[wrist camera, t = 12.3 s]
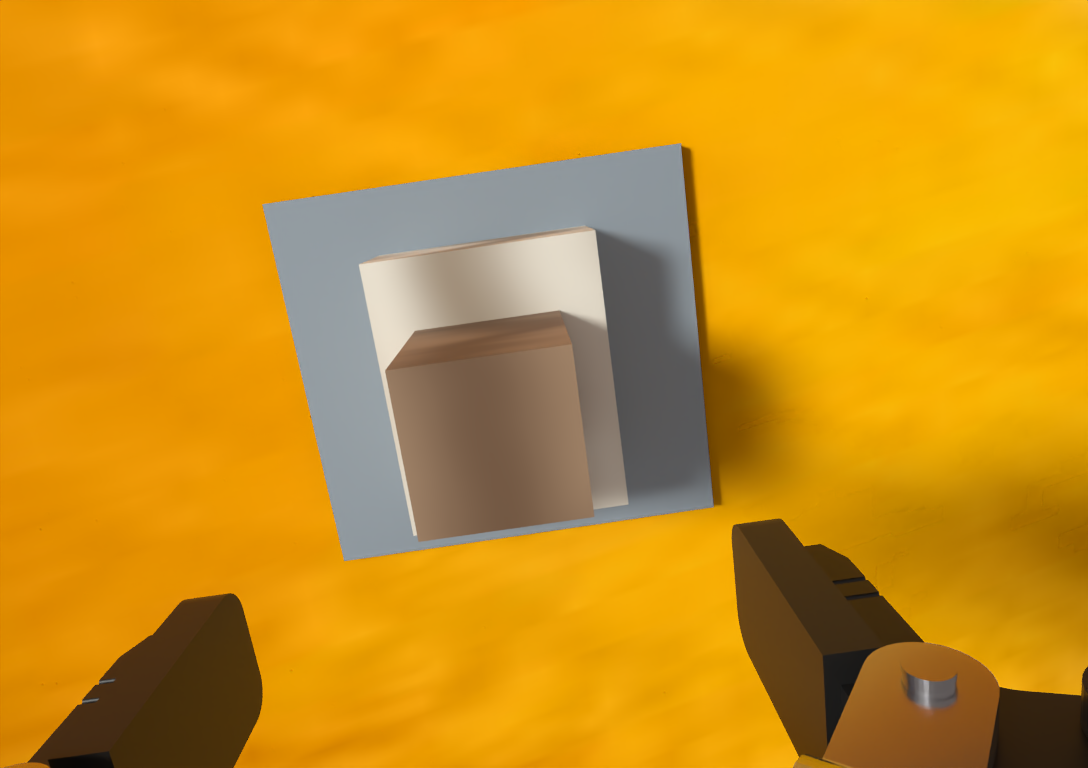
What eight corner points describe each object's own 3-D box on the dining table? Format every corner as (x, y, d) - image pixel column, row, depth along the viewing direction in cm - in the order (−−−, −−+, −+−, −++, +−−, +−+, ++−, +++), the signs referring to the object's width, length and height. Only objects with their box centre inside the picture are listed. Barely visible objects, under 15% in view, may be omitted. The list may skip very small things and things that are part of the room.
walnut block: (559, 310, 25) (571, 343, 20) (577, 447, 27) (594, 517, 21) (414, 330, 25) (385, 370, 20) (439, 466, 27) (418, 541, 21)
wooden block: (584, 225, 29) (595, 229, 25) (614, 466, 31) (628, 504, 27) (380, 255, 29) (358, 264, 25) (426, 493, 31) (413, 535, 27)
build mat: (677, 144, 29) (680, 143, 28) (710, 501, 32) (713, 506, 32) (267, 204, 29) (262, 204, 28) (347, 554, 32) (344, 560, 32)
